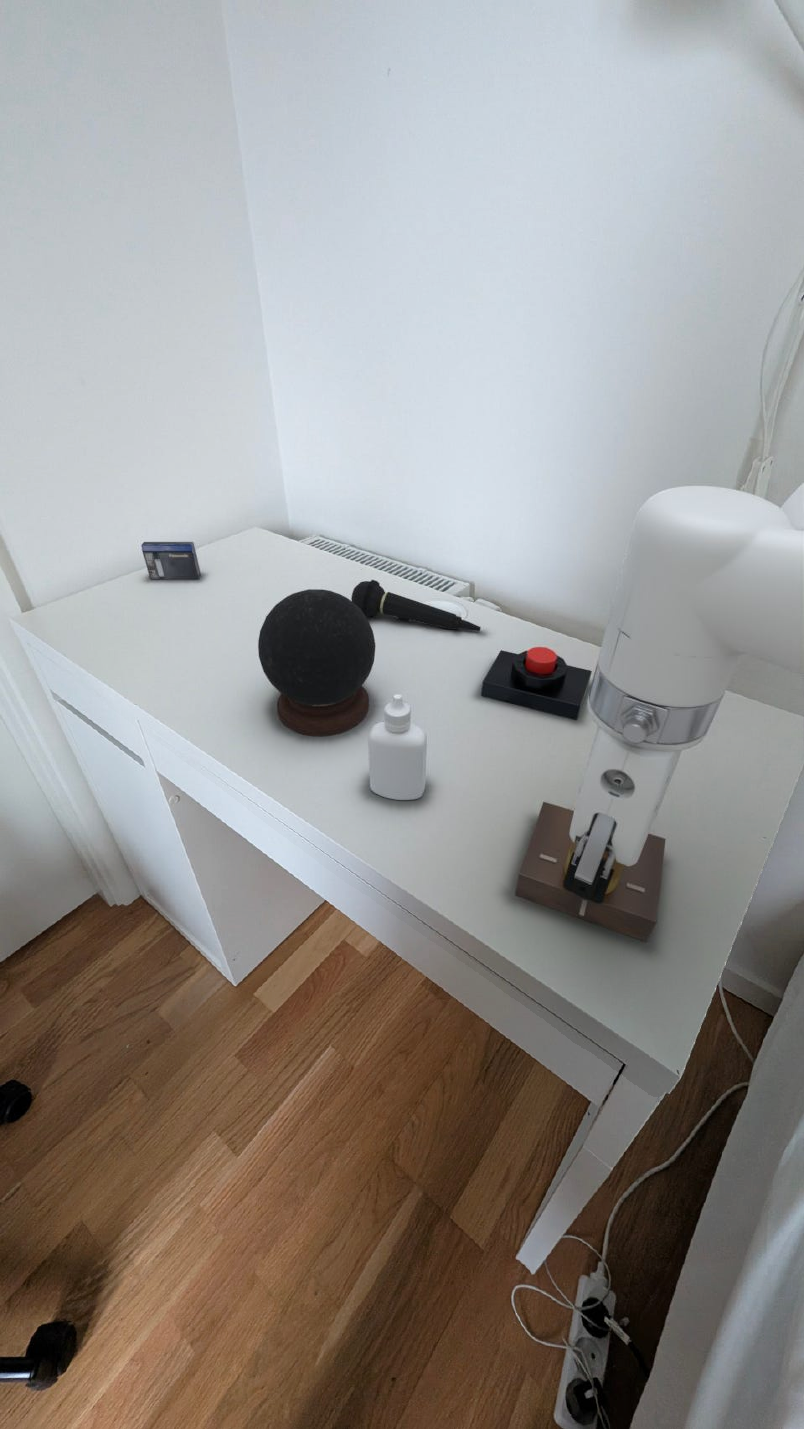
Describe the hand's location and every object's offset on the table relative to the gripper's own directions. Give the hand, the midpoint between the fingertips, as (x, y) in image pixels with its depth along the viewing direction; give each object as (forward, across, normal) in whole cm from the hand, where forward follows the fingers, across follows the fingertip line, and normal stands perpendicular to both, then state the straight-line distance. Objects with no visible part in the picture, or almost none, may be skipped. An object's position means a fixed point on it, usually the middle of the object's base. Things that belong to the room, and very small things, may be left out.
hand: (592, 868), depth 48 cm
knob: (+1, 0, 0) cm, 1 cm away
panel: (+4, +2, 0) cm, 4 cm away
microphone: (+4, +32, +37) cm, 49 cm away
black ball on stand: (+4, +10, +36) cm, 37 cm away
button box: (+4, +26, +15) cm, 30 cm away
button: (0, +26, +15) cm, 30 cm away
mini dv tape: (+4, +25, +79) cm, 83 cm away
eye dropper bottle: (+4, +2, +20) cm, 21 cm away
